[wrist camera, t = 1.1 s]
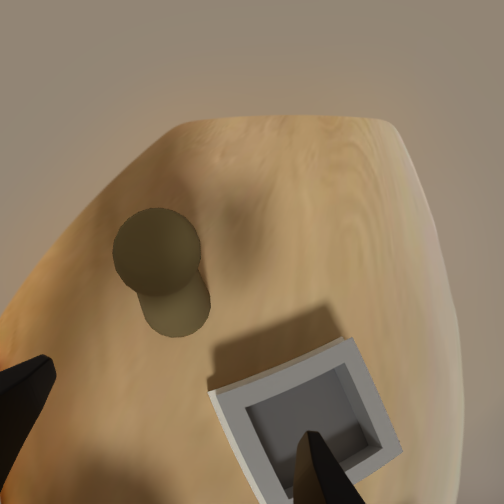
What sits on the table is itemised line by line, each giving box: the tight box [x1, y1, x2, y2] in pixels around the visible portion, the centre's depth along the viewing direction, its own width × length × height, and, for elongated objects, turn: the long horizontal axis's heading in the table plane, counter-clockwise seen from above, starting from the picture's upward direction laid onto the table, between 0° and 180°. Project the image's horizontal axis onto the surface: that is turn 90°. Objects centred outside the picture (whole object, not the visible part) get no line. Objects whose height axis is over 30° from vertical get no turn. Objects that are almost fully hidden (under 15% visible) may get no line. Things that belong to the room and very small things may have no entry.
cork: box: [113, 208, 211, 338], centre depth 20 cm, size 6×6×11 cm
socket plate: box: [208, 336, 403, 504], centre depth 19 cm, size 12×12×4 cm
